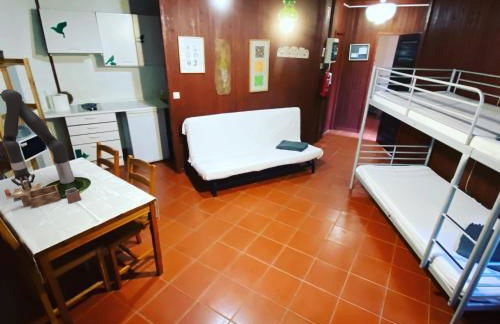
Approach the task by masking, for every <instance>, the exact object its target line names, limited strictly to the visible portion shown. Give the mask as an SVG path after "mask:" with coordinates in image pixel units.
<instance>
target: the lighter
mask: <svg viewBox="0 0 500 324" xmlns="http://www.w3.org/2000/svg"><path fill="white" fill-rule="evenodd" d="M64 194H65V196H66V200H67V204H73V203H76V202H79V201H82V197H81V193H80V189H77V188H76V187H71V188H69V189H66V190H65V193H64Z"/></svg>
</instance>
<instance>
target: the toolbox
mask: <svg viewBox="0 0 500 324" xmlns="http://www.w3.org/2000/svg"><path fill="white" fill-rule="evenodd" d="M20 198H21V200H20V201H21V203H22V205H23V207H24V208H27V207H31V209H35V208H38V207H42V206H45V205H49V204H52V203H56V202H59V201H61V200H62V198H61V195H60V193H59V189H58V186H57V185H56V184H53V185H49V186H44V188H41V189H37V190H33V191H29V192H28V193H25V194H23V196H20Z"/></svg>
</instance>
